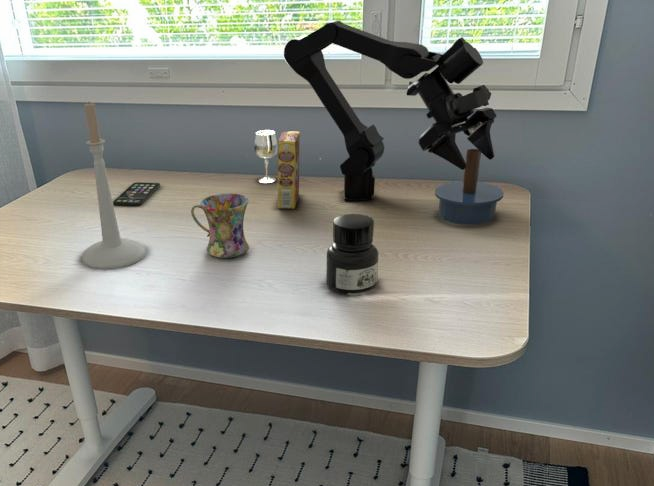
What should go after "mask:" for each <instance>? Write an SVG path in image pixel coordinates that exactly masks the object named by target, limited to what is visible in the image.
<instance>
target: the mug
mask: <svg viewBox="0 0 654 486" xmlns="http://www.w3.org/2000/svg"><path fill="white" fill-rule="evenodd" d="M248 204H249V198H248V197H247V196H246V195H243V194H240V193H231V192H230V193H229V192H228V193H227V192H225V193H216V194H212V195H209V196H206V197H204V198H203V199H202V200H201V201H200V204H196V205H193V206H192V207H191V208H190V213H191V214H190V215H191V216H192V219H193V221H194V222H195V224H197V226H198V227H199V228H200V229H202V230H203V231H205V232H206V233H208V234H207V235H206V237H207V238H209V240H208V243H207V246H206V252H207V254H209V255H211V256H212V257H216V258H221V259H222V258H223V259H229V258H235V257H239V256H242V255H244V254H245V253H247V252H248V250H249V248H250V245H249V243H248V241H247V239H246V236H245V231H244V218H245V215H246V210H247V207H248ZM196 208H199V209H201V210H203V212H204V215H205V217H206V220H207V223H208V228H209V229H208V228H207V227H205V226H204V225H203V224H202V223H201V222H200V221H199V220H198V219H197V217H196V215H195V211H194V210H195V209H196Z"/></svg>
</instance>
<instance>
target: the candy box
mask: <svg viewBox="0 0 654 486" xmlns="http://www.w3.org/2000/svg"><path fill="white" fill-rule="evenodd" d="M300 135H301V132H300V131H296V130H295V131H282V132H281V135H280V137H279V139H278V140H277V146H278V147H277V209H288V210H289V209H290V210H291V209H293V210H294V209H295V208H296V205H297V202H298V199H299V197H300V142H301V141H300V140H301V139H300V137H301V136H300Z"/></svg>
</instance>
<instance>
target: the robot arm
mask: <svg viewBox="0 0 654 486" xmlns="http://www.w3.org/2000/svg"><path fill="white" fill-rule="evenodd" d="M332 44H333V45H335V46H338V47H342V48H344V49H346V50H349V51H352V52H355V53H357V54H360V55H362V56H365V57H368V58H370V59H373V60H375V61H378V62H380V63H381V64H383V65H384V66H385V67H386V68H387V70H389V71H391V72H392V73H394V74H396V75H397V76H399V77H401V78H402V79H405V80H410V79H413V78H415V77H418V75H420V74H422V73H423V74H422V75H421V76H420V77H419V78H418V79H416V81H409V82H408V86H407V89H406V93H405V94H406V96H411V97H415V96H417V95H418V96H419V97H420V98H421V100H422V102H423V103H424V105H425V107H426V108H427V110H428V112H427V113H426V114H425V116H426V117H427V119H433V120H434V122H433V123H432V124H431V125H430V126H429V127H428V128H427V129H426V130H425V131H424V132H423V133H422V134H421V135H419V137H418V145H419V147H420V148H421V151H423V152H425V151H427V152H428V153H429V154H433V155H436V156H438V157H439V158H441V159H443V160H444V161H447V162H448V163H450V164H452V165H454V167H457V168H459V169H460V170H462V171H464V170H465V168H466V167H467V165H466V163H465V162H466V159H465V158H464V157H463V155H462V153H461V150H460V149H459V147H458V145H457V143H456V135H457V134H458V133H462V132H463V134H464V135H466V136H468V137H467V138H466V140H468V141H469V143H471V144H472V145H473V146H474V147H475V149H478V150H481V155H483V156H484V157H486V158H487V159H488V160H490V161H491V160H493V158H495V152H494V147H493V143H492V138H491V128H492V125H493V124H494V123H495V119H496V118H497V114H496V112H495V111H494V109H493V108H492V107H487V106H489V105H490V103H489V101H490V100H491V96H492V92H491V91H490V90H489V88H488V87H487V86H486V85H485V84H482V85H479V86H477V87H474V88H473V89H472V92H469V93H467V94H465V95H463V94H462V93H461V92H456V93H455V92H453V89H452V88H451V86H450V84H453V83H455V84H457V85H460V84H461V83H462V82H463V81H464V80H466V79H467V78H468V77H469V76H470V75H472V74H473V73H474V72H475V71H477V70H478V69H480V67H481V66H483V64H484V59H483V58H482V56H481V54H480V52H479V51H478V49H477V48H476V47H474V46H473V45H472V44H471V43H470V42H468V41H466V39H465V38H464V37H463V36H461V37H459V38H458V39H457V40H455V42H454V43H453V44H452V45H451V46H450V48H448V49H447V50H446V51H445V52H444V53H438V52H434V51H430V50H429V49H428V48H427V46H425V45H423V44H420V43H413V42H408V41H407V42H406V41H395V40H394V41H393V40H390V39H387V38H383V37H381V36H378V35H375V34H373V33H370V32H368V31H366V30H362V29H359V28H357V27H354V26H351V25H348V24H346V23H344V22H342V21H341V20H338V19H335V20H331V21H327V22H326V23H325V24H324V25H323V26H322V27H320V28H318V29H316V30H314V31H313V32H311V33H309V34H304V35H301V36H299V37H295V38H292V39H290V40H289V41H287V42H286V44H285V46H284V49H283V55H282V56H283V59H284V61H285V63H286V64H287V65H288V66H289V68H290V69H291V70H292V71H293V72H294V73H295V74H296V75H297V76H299V77H301V78H302V79H304V80H305V81H306V82H307V83H308V84H309V85H310V87H311V88H312V90H313V92H314V93H315V94H316V96H317V97H318V99H319V100H320V102H321V103H322V105H323V106H324V108H325V109H326V111H327V112H328V114H329V115H330V117H331V119H332V120H333V123H335V125H336V126H337V128H338V129H339V131H340V132H341V134H342V136H343V139H344V145H345V150H346V152H347V154H348V156H349V157H347V158H346V159H345V160H344V161H343V162H342V163H341V164H340V165H339V168H340V171H341V174H342V175H344V176H343V177H344V178H343V179H344V180H343V190H342V195H343V200H344V201H347V202H349V201H373V196H375V187H376V186H375V182H376V176H375V175H374V174H373V167H375V165H376V163H377V161H379V160H380V159H381V158H382V157H383V155H384V153H385V152H384V151H385V144H384V142H383V141H384V139H385V138H384V137H382V136H381V135H380V133H379V132H378V129H377V126H375V124H374V123H373V124H371V125H369V126H367V125H365V124H364V123H362V121H361V120H360V119H359V117H358V116H357V114H356V112H355V111H354V109H353V108H352V106H351V105H350V103H349V102H348V100H347V98H346V97H345V96H344V93H343V92H342V91H341V89H340V88H339V86H338V85H337V84H336V82H335V80H334V78H333V76H331V74H330V72H329V70H327V67H326V63H325V62H326V61H325V57H324V54H323V50H324V49H326V48H328V47H329V46H330V45H332ZM434 68H435V69H434ZM430 70H432V71H431V72H429V71H430ZM428 72H429V73H428ZM481 107H483V108H481ZM479 108H481V109H479ZM474 110H475V111H474Z"/></svg>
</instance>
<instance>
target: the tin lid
mask: <svg viewBox="0 0 654 486" xmlns="http://www.w3.org/2000/svg"><path fill="white" fill-rule="evenodd" d="M481 156H482V153H481V150H478V149H477V148H470V149H467V150H466V154H465V163H466V165H467V167H466V168H465V169H464V170H463V180H462V181H460V180H459V181H451V182H446V183H443V184H440V185H438V186H437V187H436V188H434V196H435V197H436V198H437V199H438V200H442V201H445V202H448V203H452V204H458V205H469V206H477V205H487V204H492V203H495V202H497V203H498V202H500V201H501V200H502V199H503V198H504V195H505V193H504V190H503V189H502V188H501V187H499V186H496V185H493V184H490V183H486V182H481V181H478V179H479V172H480V162H481Z"/></svg>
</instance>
